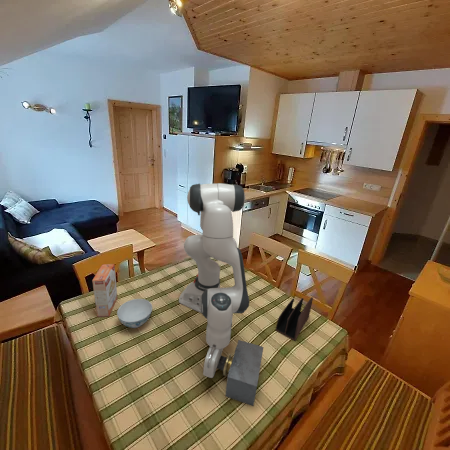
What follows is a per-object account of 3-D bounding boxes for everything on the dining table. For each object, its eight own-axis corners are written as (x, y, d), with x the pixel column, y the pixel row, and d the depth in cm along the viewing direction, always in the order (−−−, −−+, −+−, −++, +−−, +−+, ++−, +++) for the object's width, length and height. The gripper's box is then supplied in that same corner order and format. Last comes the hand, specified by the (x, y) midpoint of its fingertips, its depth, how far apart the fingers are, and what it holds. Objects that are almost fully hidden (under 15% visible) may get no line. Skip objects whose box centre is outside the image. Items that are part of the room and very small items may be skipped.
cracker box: (110, 316, 112) (105, 280, 105) (96, 317, 112) (90, 280, 104) (118, 297, 125) (114, 263, 118) (106, 297, 124) (101, 263, 117)
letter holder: (308, 317, 122) (314, 295, 117) (294, 342, 107) (300, 317, 102) (290, 308, 127) (295, 287, 122) (274, 330, 112) (279, 307, 107)
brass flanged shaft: (204, 373, 88) (205, 359, 86) (211, 357, 95) (211, 344, 92) (244, 386, 85) (246, 373, 82) (247, 369, 91) (250, 355, 88)
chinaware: (159, 323, 111) (158, 310, 108) (128, 341, 100) (126, 327, 98) (142, 306, 120) (141, 294, 117) (113, 321, 110) (111, 308, 107)
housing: (225, 396, 83) (227, 376, 79) (236, 357, 97) (238, 339, 93) (253, 406, 80) (256, 386, 77) (260, 365, 95) (263, 347, 91)
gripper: (217, 362, 75) (215, 391, 80) (233, 318, 93) (230, 344, 98) (199, 356, 76) (197, 385, 81) (218, 314, 94) (216, 339, 100)
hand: (216, 362), depth 90 cm, fingers closed on brass flanged shaft, 3 cm apart
